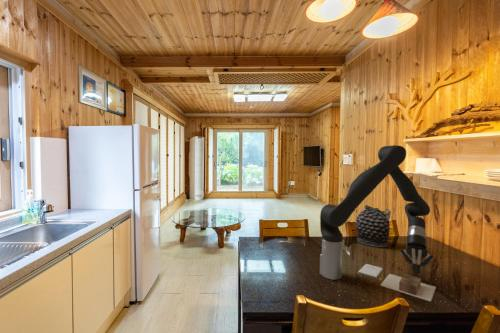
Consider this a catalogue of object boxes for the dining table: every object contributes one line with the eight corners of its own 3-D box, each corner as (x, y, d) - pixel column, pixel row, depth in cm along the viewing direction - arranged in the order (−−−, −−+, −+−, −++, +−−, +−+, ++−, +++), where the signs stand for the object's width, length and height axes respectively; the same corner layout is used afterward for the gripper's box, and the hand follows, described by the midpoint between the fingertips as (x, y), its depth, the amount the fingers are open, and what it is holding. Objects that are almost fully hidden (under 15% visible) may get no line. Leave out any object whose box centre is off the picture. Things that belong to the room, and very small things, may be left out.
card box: (404, 281, 113) (399, 290, 106) (404, 273, 113) (399, 281, 106) (420, 286, 109) (416, 295, 102) (420, 278, 109) (416, 286, 102)
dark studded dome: (391, 243, 164) (392, 205, 164) (388, 250, 152) (390, 209, 151) (357, 238, 176) (358, 202, 175) (352, 244, 164) (353, 205, 163)
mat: (380, 286, 110) (380, 285, 110) (389, 274, 121) (389, 273, 121) (430, 303, 98) (430, 301, 98) (435, 288, 109) (436, 286, 109)
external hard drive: (357, 274, 122) (365, 266, 131) (376, 280, 116) (383, 271, 126) (357, 271, 122) (365, 263, 131) (376, 276, 116) (383, 267, 126)
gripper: (400, 231, 120) (398, 266, 110) (434, 236, 113) (436, 274, 103) (400, 239, 125) (398, 273, 115) (433, 244, 117) (434, 281, 108)
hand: (416, 273), depth 109 cm, fingers closed
